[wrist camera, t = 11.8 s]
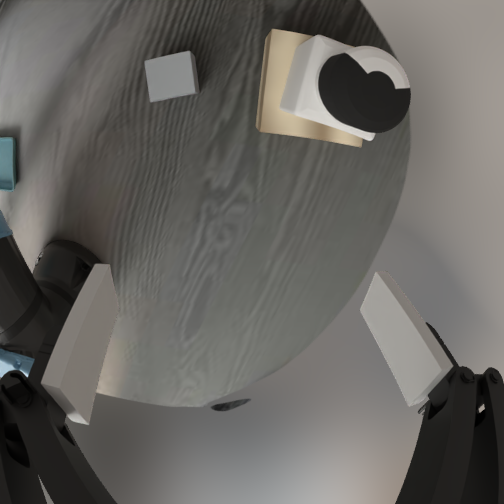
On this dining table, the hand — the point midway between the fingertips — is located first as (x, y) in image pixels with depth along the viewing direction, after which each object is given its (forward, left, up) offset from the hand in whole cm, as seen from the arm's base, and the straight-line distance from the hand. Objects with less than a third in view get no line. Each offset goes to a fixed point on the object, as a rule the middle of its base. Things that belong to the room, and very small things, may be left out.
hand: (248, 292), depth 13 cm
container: (+8, +11, -21) cm, 25 cm away
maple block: (+8, +11, -26) cm, 30 cm away
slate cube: (-8, +10, -26) cm, 29 cm away
